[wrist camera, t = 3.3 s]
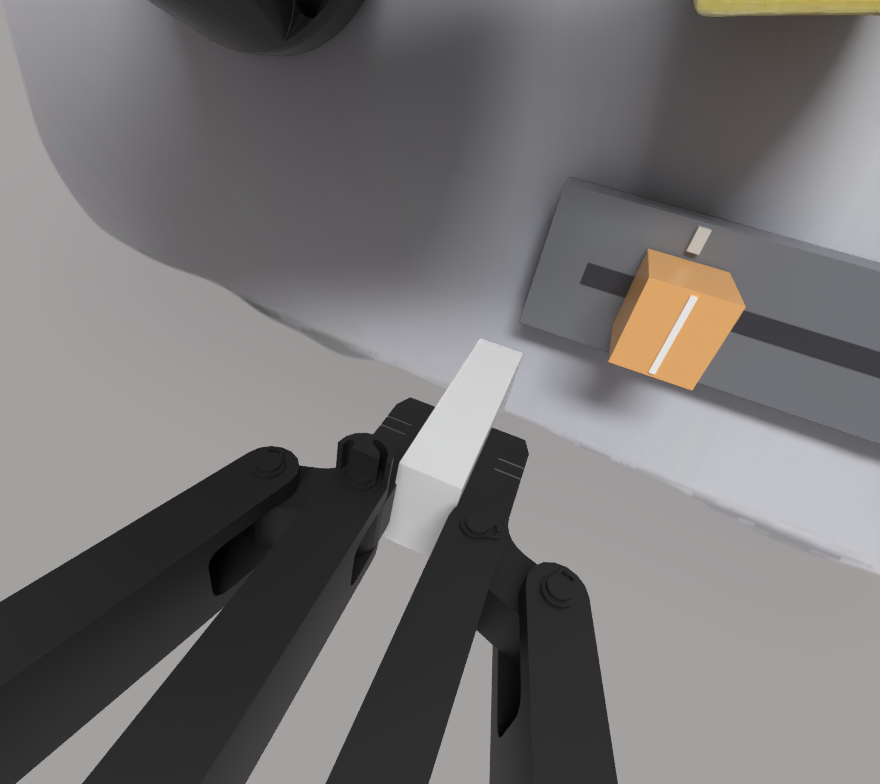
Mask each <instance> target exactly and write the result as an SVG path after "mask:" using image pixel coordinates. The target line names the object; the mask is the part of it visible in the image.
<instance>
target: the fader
mask: <svg viewBox="0 0 880 784" xmlns="http://www.w3.org/2000/svg"><path fill="white" fill-rule="evenodd" d="M745 308H746V306H745V304H744V302H743V300H742V297H741V295H740V293H739V291H738V289H737V287H736V285H735V282H734V280H733V278H732V276H731V274H730V272H726V271H723V270H720V269H716V268H713V267H710V266H706V265H703V264H699V263H696V262H693V261H689V260H686V259H682V258H679V257H676V256H672V255H669V254H665V253H662V252H659V251H655V250H652V249H649V248H648V250H647V252H646V254H645V256H644V258H643V260H642V263H641V265H640V267H639V269H638V271H637V273H636V276H635V278H634V280H633V282H632V284H631V286H630V288H629V291H628V293H627V295H626V297H625V299H624V301H623V304H622V306H621V308H620V310H619V312H618V314H617V316H616V319H615V321H614V323H613V327H612V335H611V343H610V351H609V360H608V362H610V363H613V364H616V365H619V366H621V367H624V368H627V369H630V370H633V371H636V372H639V373H642V374H645V375H648V376H651V377H654V378H657V379H660V380H662V381H665V382H668V383H671V384H674V385H677V386H680V387H683V388H686V389H689V390H693V389H694V387H695V386H696V384H697V382H698V381H699V379H700V378H701V376H702V375H703V373H704V371H705V370H706V368H707V367H708V365H709V364H710V362H711V361H712V359H713V357H714V356H715V354H716V353H717V351H718V350H719V348H720V347H721V345H722V343H723V342H724V340H725V339H726V337H727V336H728V334H729V332H730V331H731V329H732V328H733V326H734V325H735V323H736V322H737V320H738V318H739V317H740V315H741V314H742V312H743V311H744V309H745Z"/></svg>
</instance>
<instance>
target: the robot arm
mask: <svg viewBox="0 0 880 784" xmlns="http://www.w3.org/2000/svg"><path fill="white" fill-rule="evenodd" d="M148 1H149V2H151V3H153V4H154V5H156V6H157V7H159V8H161V9H162V10H164V11H165V12H167V13H169V14H170V15H172V16H173V17H175V18H176V19H178V20H180V21H181V22H183V23H184V24H186V25H188V26H189V27H191V28H192V29H194V30H196V31H197V32H199V33H200V34H202V35H204V36H205V37H207V38H208V39H210V40H212V41H214V42H216V43H218V44H220V45H223V46H225V47H228V48H231V49H234V50H237V51H240V52H245V53H251V54H261V55H273V56H289V55H296V54H300V53H304V52H307V51H310V50H312V49H314V48H316V47H319V46H320V45H322V44H324V43H325V42H327V41H328V40H330V39H331V38H332V37H334V36H335V35H336V34H337V33H338V32H339V31H340V30H341V29H343V27H344V26H345V25H346V24H347V23H348V22H349V21H350V20H351V18H352V17H353V16H354V14H355V13H356V12H357V10H358V9H359V7H360V6H361V4H362V3H363V1H364V0H148ZM522 355H523V353H521V352H518V351H515V350H512V349H509V348H506V347H504V346H501V345H498V344H495V343H492V342H489V341H487V340H484V339H481V338H480V339H479V341H478V342H477V344H476V345H475V347H474V349H473V350H472V352H471V353H470V355H469V356H468V358H467V359H466V361H465V362H464V364H463V365H462V367H461V369H460V370H459V372H458V373H457V375H456V376H455V378H454V379H453V381H452V382H451V384H450V385H449V387H448V389H447V390H446V392H445V393H444V395H443V396H442V398H441V399H440V401H439V402H438V404H437V405H436V407H434V406H431V405H429V404H426V403H424V402H421V401H418V400H416V399H413V398H408V399H406V400H404V401H402V402H400V403H398V404H397V405H396V406H395V407H394V408H393V410H392V411H391V412H390V414H389V415H388V417H386V419H385V420H384V421H383V423H382V425H381V426H380V427H379V428H378V429H377V430H376V432H375V433H374V434H369V433H355V434H352V435H349V436H346V437H345V438H343V439H342V440H340V441H339V442H338V450H337V462H336V468H329V469H324V468H314V467H306V466H299V463H298V459H297V457H296V456H295V455H294V454H293V453H292V452H291V451H288V450H286V449H284V448H281V447H273V446H269V447H261V448H258V449H256V450H253V451H251V452H249V453H247V454H245V455H244V456H242V457H240V458H239V459H237V460H235V461H234V462H232V463H230V464H229V465H227V466H226V467H224V468H222V469H220V470H219V471H217V472H216V473H214V474H212V475H211V476H209V477H207V478H206V479H204V480H202V481H201V482H199V483H197V484H196V485H194V486H192V487H191V488H189V489H187V490H186V491H184V492H182V493H181V494H179V495H177V496H176V497H174V498H172V499H171V500H169V501H167V502H166V503H164V504H162V505H161V506H159V507H157V508H156V509H154V510H152V511H151V512H149V513H147V514H146V515H144V516H142V517H141V518H139V519H137V520H136V521H134V522H132V523H131V524H129V525H128V526H126V527H124V528H122V529H121V530H119V531H117V532H116V533H114V534H113V535H111V536H109V537H107V538H106V539H104V540H102V541H101V542H99V543H98V544H96V545H94V546H92V547H91V548H89V549H88V550H86V551H84V552H83V553H81V554H79V555H78V556H76V557H74V558H73V559H71V560H69V561H68V562H66V563H64V564H63V565H61V566H60V567H58V568H56V569H54V570H53V571H51V572H49V573H48V574H46V575H44V576H43V577H41V578H39V579H38V580H36V581H34V582H33V583H31V584H29V585H28V586H26V587H24V588H23V589H21V590H19V591H18V592H16V593H14V594H13V595H11V596H9V597H8V598H6V599H4V600H3V601H1V602H0V784H16V783H17V782H18V781H19V780H20V779H21V778H23V777H24V776H25V775H26V774H27V773H29V772H30V771H31V770H32V769H33V768H34V767H36V766H37V765H38V764H39V763H40V762H41V761H43V760H44V759H45V758H46V757H47V756H49V755H50V754H51V753H52V752H53V751H55V749H57V748H58V747H59V746H60V745H62V744H63V743H64V742H65V741H66V740H67V739H69V738H70V737H71V736H72V735H73V734H74V733H76V732H77V731H78V730H79V729H80V728H82V727H83V726H84V725H85V724H86V723H88V722H89V721H90V720H91V719H92V718H94V717H95V716H96V715H97V714H98V713H99V712H100V711H102V710H103V709H104V708H105V707H106V706H108V705H109V704H110V703H111V702H112V701H114V700H115V699H116V698H117V697H118V696H119V695H121V694H122V693H123V692H124V691H125V690H127V689H128V688H129V687H130V686H131V685H132V684H134V683H135V682H136V681H137V680H138V679H139V678H140V677H142V676H143V675H144V674H145V673H146V672H148V671H149V670H150V669H151V668H153V667H154V666H155V665H156V664H157V663H158V662H159V661H161V660H162V659H163V658H164V657H166V656H167V655H168V654H169V653H170V652H171V651H173V650H174V649H175V648H176V647H177V646H179V645H180V644H181V643H182V642H183V641H184V640H186V639H187V638H188V637H189V636H190V635H192V634H193V633H194V632H195V631H196V630H197V629H199V628H200V627H201V626H202V625H203V624H205V623H206V622H207V621H208V620H209V619H210V618H212V617H213V616H214V615H215V614H216V613H217V612H219V611H220V610H221V609H222V608H223V607H224V608H223V609H222V610H221V612H220V613H219V614H218V615H217V617H216V618H215V619H214V620H213V622H212V623H211V624H210V625H209V627H208V628H207V629H206V630H205V631H204V633H203V634H202V635H201V636H200V638H199V639H198V640H197V641H196V643H195V644H194V645H193V646H192V648H191V649H190V650H189V652H188V653H187V654H186V655H185V657H184V658H183V659H182V660H181V661H180V663H179V664H178V665H177V666H176V668H175V669H174V670H173V672H172V673H171V674H170V675H169V676H168V678H167V679H166V680H165V681H164V683H163V684H162V685H161V686H160V688H159V689H158V690H157V691H156V692H155V694H154V695H153V696H152V697H151V699H150V700H149V701H148V702H147V704H146V705H145V706H144V707H143V709H142V710H141V711H140V712H139V714H138V715H137V716H136V717H135V719H134V720H133V721H132V722H131V724H130V725H129V726H128V727H127V729H126V730H125V731H124V732H123V734H122V735H121V736H120V737H119V739H118V740H117V741H116V742H115V744H114V745H113V746H112V747H111V748H110V750H109V751H108V752H107V753H106V755H105V756H104V757H103V759H102V760H101V761H100V762H99V763H98V765H97V766H96V767H95V768H94V770H93V771H92V772H91V773H90V775H89V776H88V777H87V778H86V780H85V781H84V782H83V783H82V784H245V783H246V782H247V780H248V778H249V776H250V774H251V772H252V771H253V769H254V767H255V766H256V764H257V762H258V760H259V759H260V757H261V755H262V753H263V752H264V750H265V748H266V746H267V745H268V743H269V741H270V739H271V738H272V736H273V734H274V732H275V730H276V729H277V727H278V725H279V723H280V722H281V720H282V718H283V716H284V715H285V713H286V711H287V709H288V708H289V706H290V704H291V702H292V700H293V699H294V697H295V695H296V693H297V692H298V690H299V688H300V687H301V685H302V683H303V681H304V680H305V678H306V676H307V674H308V672H309V671H310V669H311V667H312V665H313V664H314V662H315V660H316V658H317V657H318V655H319V653H320V651H321V650H322V648H323V646H324V644H325V643H326V641H327V639H328V637H329V636H330V634H331V632H332V630H333V628H334V627H335V625H336V623H337V621H338V620H339V618H340V616H341V614H342V612H343V611H344V609H345V607H346V605H347V604H348V602H349V600H350V598H351V597H352V595H353V593H354V592H355V589H356V588H357V586H358V584H359V583H360V581H361V579H362V577H363V576H364V574H365V572H366V570H367V569H368V567H369V565H370V563H371V562H372V560H373V558H374V556H375V554H376V550H377V546H378V541H379V539H380V538H381V536H382V534H383V533H384V531H385V529H386V533H385V538H387V539H389V540H391V541H393V542H395V543H398V544H400V545H402V546H404V547H407V548H409V549H411V550H414V551H416V552H418V553H420V554H422V555H425V556H427V557H429V559H428V561H427V564H426V566H425V568H424V570H423V572H422V575H421V577H420V579H419V581H418V583H417V585H416V588H415V590H414V592H413V594H412V597H411V599H410V601H409V603H408V605H407V607H406V609H405V612H404V614H403V616H402V618H401V621H400V623H399V625H398V627H397V629H396V631H395V634H394V636H393V638H392V640H391V642H390V644H389V647H388V649H387V651H386V653H385V655H384V658H383V660H382V662H381V664H380V666H379V668H378V671H377V673H376V675H375V677H374V679H373V681H372V684H371V686H370V688H369V690H368V693H367V695H366V697H365V699H364V701H363V703H362V706H361V708H360V710H359V712H358V714H357V717H356V719H355V721H354V723H353V725H352V728H351V730H350V732H349V734H348V736H347V738H346V741H345V743H344V745H343V747H342V749H341V751H340V754H339V756H338V758H337V760H336V763H335V765H334V767H333V769H332V771H331V773H330V775H329V778H328V780H327V782H326V784H429V780H430V777H431V774H432V770H433V767H434V764H435V761H436V758H437V754H438V751H439V748H440V745H441V742H442V738H443V735H444V732H445V728H446V726H447V722H448V719H449V716H450V713H451V709H452V706H453V703H454V700H455V696H456V693H457V690H458V687H459V684H460V680H461V677H462V674H463V671H464V667H465V664H466V661H467V658H468V654H469V651H470V648H471V645H472V642H473V638H474V635H475V632H476V630H477V631H479V633H481V634H482V635H483V636H484V637H485V638H486V639H487V640H488V641H489V642H490V643H491V644H493V657H492V701H491V745H490V746H491V747H490V784H618V782H617V775H616V769H615V763H614V756H613V749H612V743H611V736H610V730H609V723H608V717H607V711H606V704H605V697H604V691H603V684H602V678H601V671H600V665H599V658H598V652H597V645H596V639H595V633H594V626H593V619H592V614H591V606H590V600H589V596H588V593H587V590H586V587H585V585H584V584H583V583H582V581H581V580H580V579H579V577H578V576H577V575H576V574H574V573H573V572H572V571H571V570H569V569H568V568H567V567H565V566H562V565H559V564H556V563H548V562H543V563H541V564H538V565H537V564H536V563H535V562H533V561H532V560H531V559H529V558H528V557H527V556H525V555H524V554H523V553H522V552H521V551H520V550H519V549H518V548H517V547H516V545H515V544H514V543H513V541H512V539H511V537H510V534H509V530H508V521H509V516H510V513H511V510H512V507H513V503H514V500H515V497H516V493H517V490H518V487H519V484H520V480H521V477H522V474H523V471H524V468H525V465H526V461H527V458H528V455H529V454H528V449H527V446H526V442H525V440H523V439H520V438H518V437H516V436H513V435H510V434H508V433H505V432H502V431H499V430H497V429H496V427H497V425H498V423H499V420H500V418H501V416H502V413H503V410H504V407H505V404H506V401H507V398H508V396H509V393H510V390H511V387H512V384H513V381H514V378H515V375H516V373H517V370H518V367H519V364H520V361H521V358H522ZM386 527H387V528H386Z"/></svg>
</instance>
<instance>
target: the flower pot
mask: <svg viewBox="0 0 880 784" xmlns="http://www.w3.org/2000/svg"><path fill="white" fill-rule="evenodd" d="M693 5H694V9H695V11H696V13H697V14H699V15H702V16H704V17H728V16H792V15H880V0H693Z"/></svg>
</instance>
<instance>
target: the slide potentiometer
mask: <svg viewBox="0 0 880 784" xmlns="http://www.w3.org/2000/svg"><path fill="white" fill-rule="evenodd" d="M648 248H649V249H652V250H655V251H659V252H662V253H665V254H669V255H672V256H676V257H679V258H682V259H686V260H689V261H693V262H696V263H699V264H703V265H706V266H710V267H713V268H716V269H720V270H723V271H726V272H730V274H731V276H732V278H733V280H734V282H735V285H736V287H737V289H738V291H739V293H740V295H741V297H742V300H743V302H744V304H745V306H746V308H745V309H744V311H743V312H742V314H741V315H740V317H739V318H738V320H737V322H736V323H735V325H734V326H733V328H732V329H731V331H730V332H729V334H728V336H727V337H726V339H725V340H724V342H723V343H722V345H721V347H720V348H719V350H718V351H717V353H716V354H715V356H714V357H713V359H712V361H711V362H710V364H709V365H708V367H707V368H706V370H705V371H704V373H703V375H702V376H701V378H700V379H699V381H698V382H697V383H700V384H703V385H706V386H709V387H712V388H715V389H718V390H721V391H724V392H727V393H730V394H733V395H736V396H739V397H742V398H745V399H748V400H751V401H754V402H757V403H759V404H762V405H765V406H768V407H771V408H774V409H777V410H780V411H783V412H786V413H789V414H792V415H795V416H798V417H801V418H804V419H807V420H810V421H813V422H816V423H819V424H822V425H825V426H828V427H831V428H834V429H836V430H839V431H842V432H845V433H848V434H851V435H854V436H857V437H860V438H863V439H866V440H869V441H872V442H875V443H878V444H880V263H878V262H874V261H871V260H867V259H864V258H860V257H856V256H853V255H849V254H845V253H842V252H838V251H835V250H831V249H827V248H824V247H820V246H817V245H813V244H809V243H806V242H802V241H799V240H795V239H791V238H788V237H784V236H780V235H777V234H773V233H770V232H766V231H762V230H759V229H755V228H752V227H748V226H744V225H741V224H737V223H734V222H730V221H726V220H723V219H719V218H715V217H712V216H708V215H705V214H701V213H697V212H694V211H690V210H687V209H683V208H679V207H676V206H672V205H669V204H665V203H661V202H658V201H654V200H650V199H647V198H643V197H640V196H636V195H632V194H629V193H625V192H622V191H618V190H614V189H611V188H607V187H604V186H600V185H596V184H593V183H589V182H585V181H582V180H578V179H575V178H571V177H569V178H568V180H567V181H566V182H565V184H564V187H563V190H562V193H561V196H560V199H559V202H558V205H557V208H556V211H555V214H554V217H553V220H552V223H551V226H550V229H549V232H548V236H547V239H546V242H545V245H544V248H543V251H542V254H541V257H540V260H539V263H538V266H537V269H536V272H535V275H534V278H533V281H532V285H531V288H530V291H529V294H528V297H527V300H526V303H525V306H524V309H523V312H522V315H521V318H520V321H519V322H520V323H523V324H526V325H528V326H531V327H534V328H537V329H540V330H543V331H546V332H549V333H552V334H555V335H558V336H561V337H564V338H567V339H570V340H573V341H576V342H579V343H582V344H585V345H588V346H591V347H594V348H597V349H600V350H603V351H605V352H608V353H609V351H610V343H611V335H612V327H613V323H614V321H615V319H616V316H617V314H618V312H619V310H620V308H621V306H622V304H623V301H624V299H625V297H626V295H627V293H628V291H629V288H630V286H631V284H632V282H633V280H634V278H635V276H636V273H637V271H638V269H639V267H640V265H641V263H642V260H643V258H644V256H645V254H646V252H647V250H648Z"/></svg>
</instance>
